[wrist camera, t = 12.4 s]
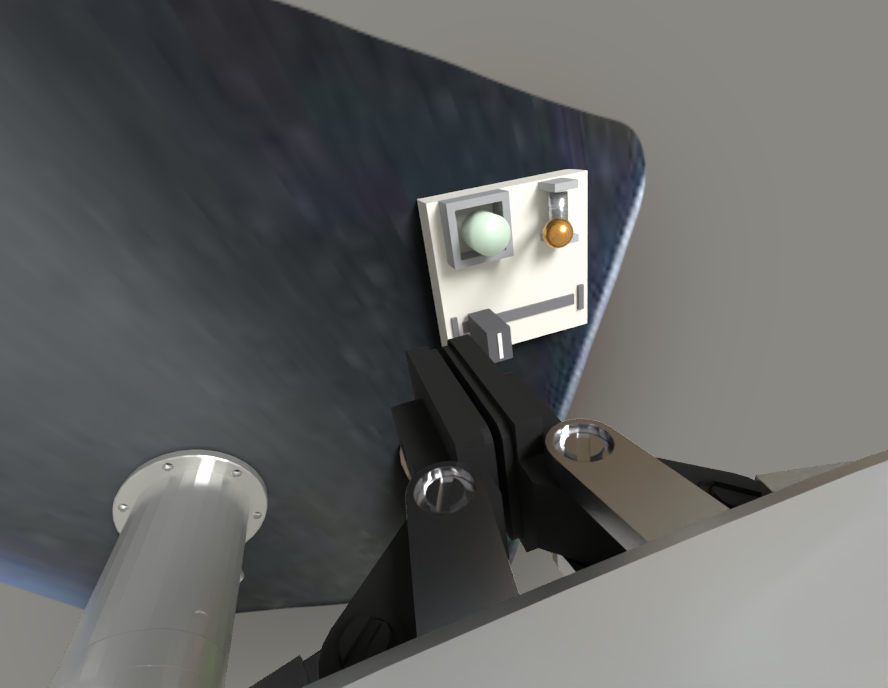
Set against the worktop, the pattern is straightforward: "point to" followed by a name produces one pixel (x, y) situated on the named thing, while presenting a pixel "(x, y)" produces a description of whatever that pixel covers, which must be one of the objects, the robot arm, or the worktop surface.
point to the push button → (485, 232)
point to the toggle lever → (557, 220)
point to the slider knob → (491, 334)
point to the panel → (509, 258)
